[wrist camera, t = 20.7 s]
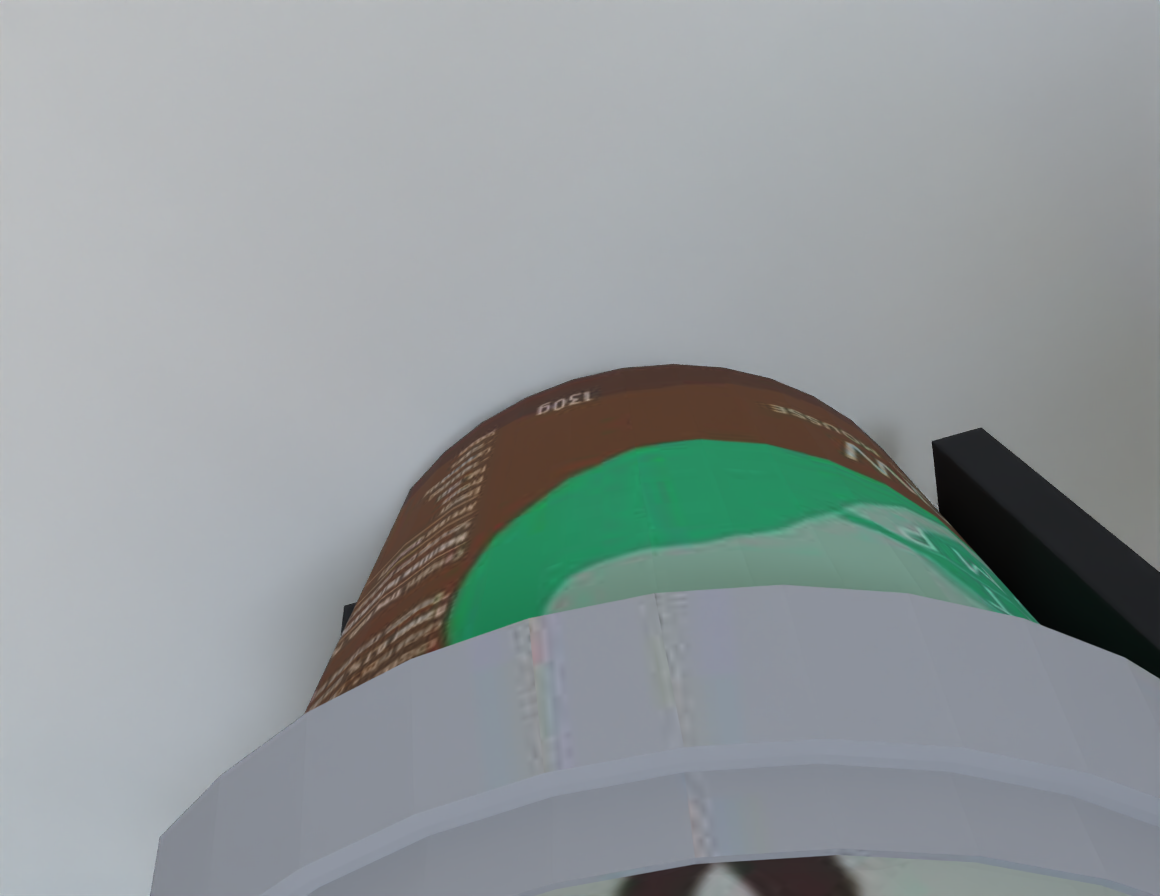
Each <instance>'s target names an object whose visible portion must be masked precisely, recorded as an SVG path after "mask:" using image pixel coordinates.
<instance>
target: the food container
mask: <svg viewBox="0 0 1160 896" xmlns="http://www.w3.org/2000/svg"><path fill="white" fill-rule="evenodd" d="M150 896H1160V679H1159V678H1158V677H1156V676H1154V675H1153V674H1151V673H1149V672H1148V671H1146V670H1144V669H1143V668H1141V667H1139V666H1138V665H1136V664H1135V663H1133V662H1131V661H1130V660H1128V659H1126V658H1125V657H1122V656H1119V655H1117V654H1114V653H1112V652H1109V651H1107V650H1104V649H1101V648H1099V647H1096V646H1094V645H1091V644H1089V643H1086V642H1083V641H1081V640H1078V639H1076V638H1073V637H1070V636H1068V635H1065V634H1063V633H1060V632H1058V631H1055V630H1052V629H1050V628H1047V627H1045V626H1042V625H1040V624H1039V623H1038V622H1037V620H1036V619H1035V618H1034V617H1033V616H1032V615H1031V614H1030V613H1029V612H1028V610H1027V609H1026V608H1025V607H1024V606H1023V605H1022V604H1021V603H1020V602H1019V600H1018V599H1017V598H1016V597H1015V596H1014V595H1013V594H1012V593H1011V592H1010V590H1009V589H1008V588H1007V587H1006V586H1005V585H1004V584H1003V583H1002V582H1001V580H1000V579H999V578H998V577H997V576H996V575H995V574H994V573H993V572H992V570H991V569H990V568H989V567H988V566H987V565H986V564H985V563H984V561H983V560H982V559H981V558H980V557H979V556H978V555H977V554H976V553H975V551H974V550H973V549H972V548H971V547H970V546H969V545H968V544H967V543H966V541H965V540H964V539H963V538H962V537H961V536H960V535H959V534H958V533H957V531H956V530H955V529H954V528H953V527H952V526H951V525H950V524H949V523H948V521H947V520H946V519H945V518H944V517H943V516H942V515H941V514H940V513H939V511H938V510H937V509H936V508H935V507H934V506H933V505H932V504H931V502H930V501H929V500H928V499H927V498H926V497H925V496H924V495H923V494H922V492H921V491H920V490H919V489H918V488H917V487H916V486H915V485H914V484H913V482H912V481H911V480H910V479H909V478H908V477H907V476H906V475H905V474H904V472H903V471H902V470H901V469H900V468H899V467H898V466H897V465H896V464H895V462H894V461H893V460H892V459H891V458H890V457H889V456H888V455H887V453H886V452H885V451H884V450H883V449H882V448H881V447H880V446H879V445H878V444H877V443H875V442H874V441H873V440H872V439H871V438H870V437H869V436H868V435H867V434H866V433H865V432H864V431H862V430H861V429H860V428H859V427H858V426H857V425H856V424H855V423H854V422H853V421H852V420H850V419H849V418H847V417H845V416H844V415H842V414H841V413H839V412H838V411H836V410H834V409H833V408H831V407H830V406H828V405H826V404H825V403H823V402H822V401H820V400H819V399H817V398H815V397H814V396H812V395H809V394H807V393H804V392H802V391H799V390H797V389H795V388H792V387H790V386H787V385H785V384H782V383H780V382H778V381H775V380H773V379H770V378H766V377H762V376H757V375H753V374H749V373H744V372H740V371H736V370H731V369H727V368H721V367H707V366H693V365H679V364H668V365H655V366H643V367H630V368H621V369H617V370H612V371H608V372H603V373H599V374H595V375H590V376H586V377H581V378H577V379H573V380H570V381H568V382H565V383H563V384H560V385H557V386H555V387H552V388H550V389H547V390H544V391H542V392H539V393H537V394H534V395H532V396H529V397H526V398H524V399H523V400H521V401H519V402H517V403H516V404H514V405H512V406H510V407H509V408H507V409H505V410H503V411H502V412H500V413H498V414H496V415H494V416H493V417H491V418H489V419H487V420H486V421H484V422H482V423H481V424H480V425H478V426H477V427H476V428H475V429H473V430H472V431H471V432H470V433H468V434H467V435H466V436H464V437H463V438H462V439H461V440H459V441H458V442H457V443H456V444H454V445H453V446H452V447H450V448H449V449H448V450H447V451H445V452H444V453H443V454H442V455H441V457H440V458H439V459H438V460H437V461H436V462H435V463H434V464H433V465H432V466H431V467H430V469H429V470H428V471H427V472H426V473H425V474H424V475H423V476H422V477H421V478H420V479H419V480H418V482H417V483H416V484H415V485H414V486H413V487H412V488H411V489H410V491H409V493H408V495H407V498H406V500H405V502H404V504H403V506H402V508H401V510H400V512H399V514H398V517H397V519H396V521H395V523H394V525H393V527H392V529H391V531H390V534H389V536H388V538H387V540H386V542H385V544H384V546H383V548H382V550H381V553H380V555H379V557H378V559H377V561H376V563H375V565H374V567H373V569H372V572H371V574H370V576H369V578H368V580H367V582H366V584H365V586H364V588H363V591H362V593H361V595H360V597H359V599H358V601H357V603H356V605H355V608H354V610H353V612H352V614H351V616H350V618H349V620H348V622H347V624H346V627H345V629H344V631H343V633H342V635H341V637H340V639H339V641H338V643H337V646H336V648H335V650H334V652H333V654H332V656H331V658H330V660H329V662H328V665H327V667H326V669H325V671H324V673H323V675H322V677H321V679H320V682H319V684H318V686H317V688H316V690H315V692H314V694H313V696H312V698H311V701H310V703H309V705H308V707H307V709H306V711H305V713H304V715H303V716H301V717H300V718H299V719H297V720H296V721H295V722H293V723H292V724H290V725H289V726H288V727H286V728H285V729H284V730H282V731H281V732H279V733H278V734H277V735H275V736H274V737H273V738H271V739H270V740H268V741H267V742H266V743H264V744H263V745H262V746H260V747H259V748H257V749H256V750H255V751H253V752H252V753H251V754H249V755H248V756H246V757H245V758H244V759H242V760H241V761H240V762H238V763H237V764H235V765H234V766H233V767H231V768H230V769H229V770H227V771H226V772H224V773H223V774H222V775H220V776H219V777H218V778H217V779H216V780H215V781H214V782H213V783H212V785H211V786H210V787H209V788H208V789H207V790H206V791H205V792H204V793H203V794H202V795H201V796H200V797H199V798H198V799H197V800H196V801H195V802H194V803H193V804H192V805H191V806H190V807H189V808H188V809H187V810H186V811H185V812H184V813H183V814H182V815H181V816H180V817H179V818H178V819H177V820H176V821H175V822H174V823H173V824H172V825H171V826H170V827H169V828H168V829H167V830H166V832H165V833H164V834H163V835H162V836H161V837H160V839H159V845H158V851H157V857H156V863H155V869H154V875H153V881H152V887H151V893H150Z"/></svg>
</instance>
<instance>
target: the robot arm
mask: <svg viewBox="0 0 1160 896" xmlns="http://www.w3.org/2000/svg"><path fill="white" fill-rule="evenodd" d="M932 448H933V458H934V467H935V477H936V486H937V496H938V505H939V513H940V514H941V515H942V516H943V517H944V518H945V519H946V520H947V521H948V523H949V524H950V525H951V526H952V527H953V528H954V529H955V530H956V531H957V533H958V534H959V535H960V536H961V537H962V538H963V539H964V540H965V541H966V543H967V544H968V545H969V546H970V547H971V548H972V549H973V550H974V551H975V553H976V554H977V555H978V556H979V557H980V558H981V559H982V560H983V561H984V563H985V564H986V565H987V566H988V567H989V568H990V569H991V570H992V572H993V573H994V574H995V575H996V576H997V577H998V578H999V579H1000V580H1001V582H1002V583H1003V584H1004V585H1005V586H1006V587H1007V588H1008V589H1009V590H1010V592H1011V593H1012V594H1013V595H1014V596H1015V597H1016V598H1017V599H1018V600H1019V602H1020V603H1021V604H1022V605H1023V606H1024V607H1025V608H1026V609H1027V610H1028V612H1029V613H1030V614H1031V615H1032V616H1033V617H1034V618H1035V619H1036V620H1037V622H1038V623H1039V624H1040V625H1042V626H1045V627H1047V628H1050V629H1052V630H1055V631H1058V632H1060V633H1063V634H1065V635H1068V636H1070V637H1073V638H1076V639H1078V640H1081V641H1083V642H1086V643H1089V644H1091V645H1094V646H1096V647H1099V648H1101V649H1104V650H1107V651H1109V652H1112V653H1114V654H1117V655H1119V656H1122V657H1125V658H1126V659H1128V660H1130V661H1131V662H1133V663H1135V664H1136V665H1138V666H1139V667H1141V668H1143V669H1144V670H1146V671H1148V672H1149V673H1151V674H1153V675H1154V676H1156V677H1158V678H1159V679H1160V572H1159V571H1157V570H1156V569H1155V568H1154V567H1153V566H1151V565H1150V564H1149V563H1148V562H1146V561H1145V560H1144V559H1143V558H1141V557H1140V556H1139V555H1138V554H1137V553H1135V552H1134V551H1133V550H1132V549H1130V548H1129V547H1128V546H1127V545H1125V544H1124V543H1123V542H1122V541H1121V540H1119V539H1118V538H1117V537H1116V536H1114V535H1113V534H1112V533H1111V532H1109V531H1108V530H1107V529H1106V528H1105V527H1103V526H1102V525H1101V524H1100V523H1098V522H1097V521H1096V520H1095V519H1093V518H1092V517H1091V516H1090V515H1089V514H1087V513H1086V512H1085V511H1084V510H1082V509H1081V508H1080V507H1079V506H1077V505H1076V504H1075V503H1074V502H1073V501H1071V500H1070V499H1069V498H1068V497H1066V496H1065V495H1064V494H1063V493H1061V492H1060V491H1059V490H1058V489H1057V488H1055V487H1054V486H1053V485H1052V484H1050V483H1049V482H1048V481H1047V480H1045V479H1044V478H1043V477H1042V476H1040V475H1039V474H1038V473H1037V472H1036V471H1034V470H1033V469H1032V468H1031V467H1029V466H1028V465H1027V464H1026V463H1024V462H1023V461H1022V460H1021V459H1020V458H1018V457H1017V456H1016V455H1015V454H1013V453H1012V452H1011V451H1010V450H1008V449H1007V448H1006V447H1005V446H1004V445H1002V444H1001V443H1000V442H999V441H997V440H996V439H995V438H994V437H992V436H991V435H990V434H989V433H988V432H986V431H985V430H984V429H983V428H978V429H974V430H970V431H967V432H963V433H960V434H956V435H953V436H949V437H945V438H942V439H938V440H935V441H932ZM356 603H357V602H356ZM356 603H352V604H349V605H345V606H344V613H343V621H342V630H341V635H342V633H343V631H344V629H345V627H346V624H347V622H348V620H349V618H350V616H351V614H352V612H353V610H354V608H355V605H356Z"/></svg>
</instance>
